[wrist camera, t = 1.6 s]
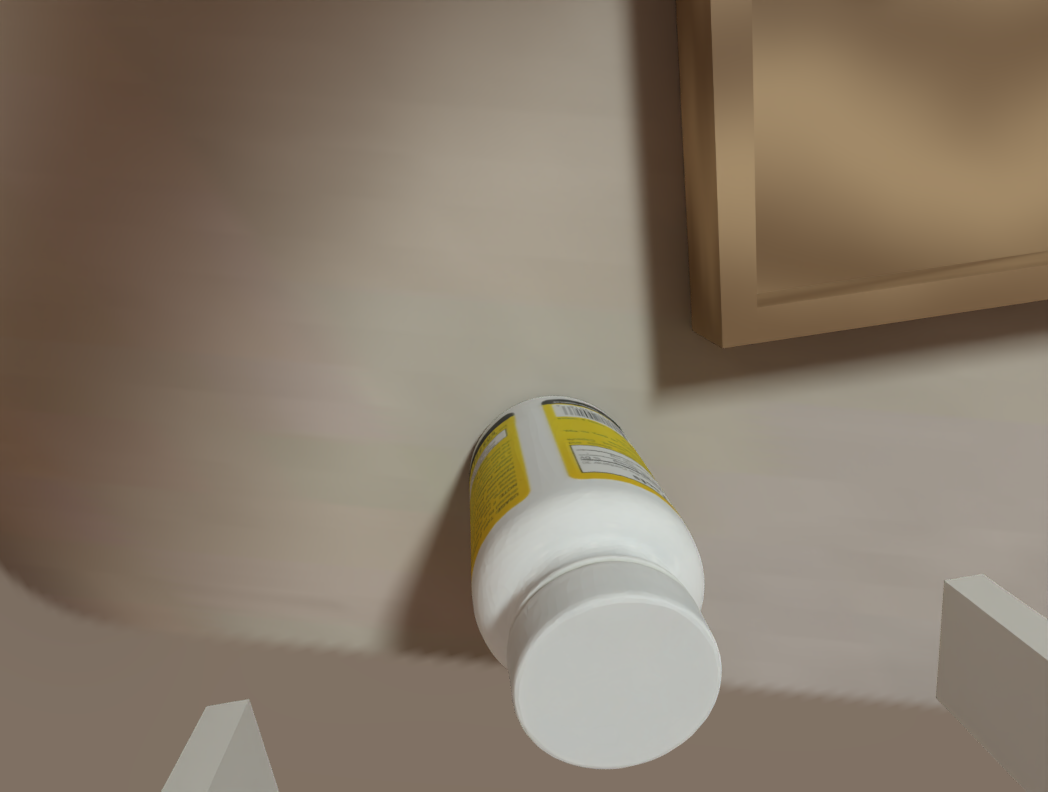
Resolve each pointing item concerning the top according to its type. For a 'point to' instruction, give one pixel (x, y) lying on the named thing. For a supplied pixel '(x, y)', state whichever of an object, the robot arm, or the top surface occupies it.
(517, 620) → the supplement bottle
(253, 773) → the robot arm
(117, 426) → the top surface
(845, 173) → the tray
